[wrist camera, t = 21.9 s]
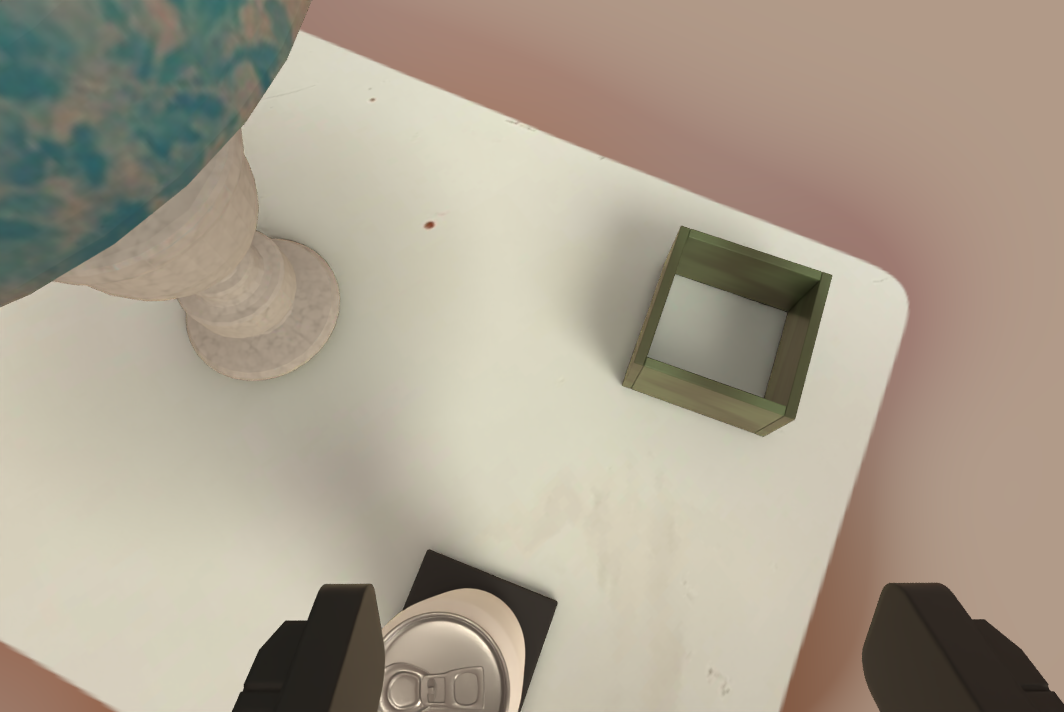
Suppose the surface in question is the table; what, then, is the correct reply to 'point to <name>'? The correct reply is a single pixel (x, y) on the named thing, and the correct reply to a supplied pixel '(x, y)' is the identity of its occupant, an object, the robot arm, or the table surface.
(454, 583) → the mat
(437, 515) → the table surface
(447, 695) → the can
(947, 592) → the robot arm
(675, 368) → the caddy
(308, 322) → the table lamp
